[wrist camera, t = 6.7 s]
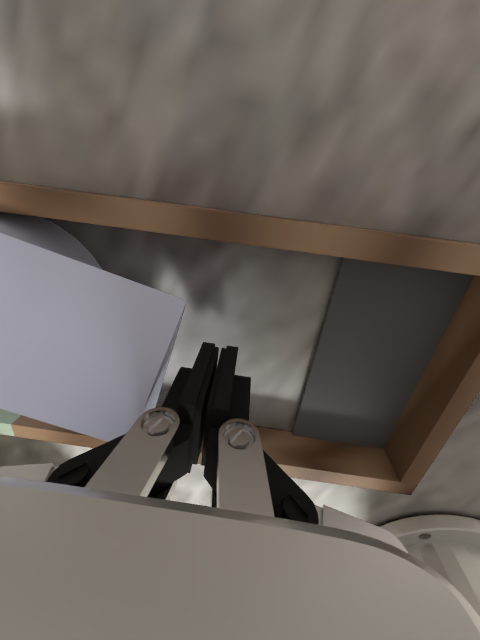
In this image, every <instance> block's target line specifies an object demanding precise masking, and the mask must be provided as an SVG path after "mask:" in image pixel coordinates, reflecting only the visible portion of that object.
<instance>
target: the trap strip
mask: <svg viewBox="0 0 480 640" xmlns="http://www.w3.org/2000/svg"><path fill="white" fill-rule="evenodd" d="M473 276H474V275H470V274H462V273H455V272H447V271H440V270H433V269H425V268H418V267H410V266H403V265H395V264H388V263H380V262H373V261H365V260H358V259H350V258H343V257H342V259H341V262H340V266H339V269H338V273H337V276H336V280H335V283H334V287H333V290H332V294H331V297H330V301H329V304H328V307H327V311H326V314H325V318H324V321H323V325H322V328H321V332H320V335H319V339H318V342H317V346H316V349H315V353H314V356H313V360H312V363H311V367H310V370H309V374H308V377H307V381H306V384H305V388H304V391H303V395H302V398H301V402H300V405H299V409H298V412H297V416H296V419H295V423H294V426H293V430H292V435H293V436H300V437H307V438H314V439H321V440H328V441H335V442H341V443H348V444H355V445H362V446H369V447H376V448H383V449H384V447H385V445H386V443H387V441H388V439H389V437H390V435H391V433H392V431H393V429H394V428H395V426H396V424H397V422H398V420H399V418H400V416H401V414H402V412H403V410H404V408H405V406H406V405H407V403H408V401H409V399H410V397H411V395H412V393H413V391H414V389H415V387H416V385H417V383H418V382H419V380H420V378H421V376H422V374H423V372H424V370H425V368H426V366H427V364H428V362H429V360H430V359H431V357H432V355H433V353H434V351H435V349H436V347H437V345H438V343H439V341H440V339H441V337H442V336H443V334H444V332H445V330H446V328H447V326H448V324H449V322H450V320H451V318H452V316H453V314H454V313H455V311H456V309H457V307H458V305H459V303H460V301H461V299H462V297H463V295H464V293H465V291H466V290H467V288H468V286H469V284H470V282H471V280H472V278H473Z"/></svg>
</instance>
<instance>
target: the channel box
mask: <svg viewBox="0 0 480 640" xmlns="http://www.w3.org/2000/svg"><path fill="white" fill-rule="evenodd" d="M0 212H7V213H15V214H22V215H30V216H37V217H45V218H52V219H59V220H67V221H74V222H82V223H89V224H97V225H104V226H112V227H119V228H127V229H134V230H142V231H149V232H156V233H164V234H171V235H179V236H186V237H194V238H201V239H209V240H216V241H224V242H231V243H239V244H246V245H253V246H261V247H268V248H276V249H283V250H291V251H298V252H306V253H313V254H321V255H328V256H336V257H343V258H350V259H358V260H365V261H373V262H380V263H388V264H395V265H403V266H410V267H418V268H425V269H433V270H440V271H447V272H455V273H462V274H470V275H474V276H473V278H472V280H471V282H470V284H469V286H468V288H467V290H466V291H465V293H464V295H463V297H462V299H461V301H460V303H459V305H458V307H457V309H456V311H455V313H454V314H453V316H452V318H451V320H450V322H449V324H448V326H447V328H446V330H445V332H444V334H443V336H442V337H441V339H440V341H439V343H438V345H437V347H436V349H435V351H434V353H433V355H432V357H431V359H430V360H429V362H428V364H427V366H426V368H425V370H424V372H423V374H422V376H421V378H420V380H419V382H418V383H417V385H416V387H415V389H414V391H413V393H412V395H411V397H410V399H409V401H408V403H407V405H406V406H405V408H404V410H403V412H402V414H401V416H400V418H399V420H398V422H397V424H396V426H395V428H394V429H393V431H392V433H391V435H390V437H389V439H388V441H387V443H386V445H385V447H384V449H383V448H376V447H369V446H362V445H355V444H348V443H341V442H335V441H328V440H321V439H314V438H307V437H300V436H293V435H292V432H291V431H284V430H277V429H270V428H264V427H257V426H255V427H256V428H257V429H258V431H259V434H260V438H261V443H262V449H263V450H264V451H265V452H266V453H267V454H268V455H269V456H270V457H271V458H272V459H273V460H274V462H275V463H276V464H277V465H278V466H279V467H280V468H281V469H282V470H283V471H284V472H285V473H286V474H287V475H288V476H289V477H292V478H298V479H305V480H312V481H318V482H325V483H332V484H339V485H345V486H352V487H359V488H366V489H372V490H379V491H386V492H393V493H399V494H406V495H411V494H412V492H413V491H414V489H415V488H416V486H417V485H418V483H419V482H420V480H421V479H422V477H423V476H424V474H425V473H426V471H427V470H428V468H429V467H430V465H431V464H432V462H433V461H434V459H435V458H436V456H437V455H438V453H439V452H440V450H441V449H442V447H443V446H444V444H445V443H446V441H447V440H448V438H449V437H450V435H451V434H452V432H453V431H454V429H455V428H456V426H457V425H458V423H459V422H460V420H461V419H462V417H463V416H464V414H465V412H466V411H467V409H468V408H469V406H470V405H471V403H472V402H473V400H474V399H475V397H476V396H477V394H478V393H479V391H480V244H476V243H468V242H461V241H453V240H446V239H438V238H430V237H423V236H415V235H408V234H400V233H393V232H385V231H377V230H370V229H362V228H355V227H347V226H340V225H332V224H324V223H317V222H309V221H302V220H294V219H287V218H279V217H271V216H264V215H256V214H249V213H241V212H233V211H226V210H218V209H211V208H203V207H196V206H188V205H180V204H173V203H165V202H158V201H150V200H143V199H135V198H127V197H120V196H112V195H105V194H97V193H90V192H82V191H74V190H67V189H59V188H52V187H44V186H37V185H29V184H21V183H14V182H6V181H0ZM11 427H12V429H13V432H14V435H15V436H16V437H22V438H29V439H36V440H43V441H49V442H56V443H63V444H69V445H76V446H83V447H90V448H96V447H98V446H100V445H102V444H104V443H106V442H107V441H104V440H101V439H97V438H94V437H91V436H88V435H84V434H81V433H78V432H75V431H72V430H68V429H65V428H62V427H59V426H55V425H52V424H49V423H46V422H42V421H39V420H36V419H33V418H29V417H26V416H23V415H21V416H20V417H19V418H17V419H16V420H15V421H14V422H13V423H12V424H11ZM203 439H204V438H203ZM202 449H203V442H202V447H201V451H200V455H199V459H198V463H197V464H201V460H202Z"/></svg>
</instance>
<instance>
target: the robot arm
mask: <svg viewBox="0 0 480 640" xmlns="http://www.w3.org/2000/svg"><path fill="white" fill-rule="evenodd" d="M218 352H219V347H215V344H213V343H206V342H203V344H202V346H201V348H200V351H199V353H198V356H197V358H196V361H195V363H194V366H193V368H192V369H191V368H185V367H181V368H180V370H179V372H178V374H177V376H176V378H175V380H174V382H173V384H172V386H171V388H170V390H169V393H168V395H167V397H166V399H165V401H164V403H163V405H162V407H155V408H152V409H149V410H147V411H146V412H144V413H143V414H142V415H141V416H140V417H139V418H138V419H137V420H136V422H135V423H134V424H133V426H132V427H131V428H130V429H129V431H128V432H127V433H126V434H124V435H122V436H120V437H117V438H115V439H113V440H111V441H109V442H106V443H104V444H102V445H100V446H98V447H96V448H93V449H91V450H89V451H87V452H85V453H83V454H80V455H78V456H76V457H74V458H72V459H70V460H68V461H66V462H64V463H63V464H61V465H60V466H54V463H45V464H30V465H15V466H0V640H480V520H477V519H474V518H470V517H464V516H457V515H440V514H436V515H421V516H415V517H409V518H403V519H400V520H396V521H393V522H389V523H387V524H384V525H382V526H380V527H378V526H375V525H373V524H371V523H368V522H366V521H363V520H361V519H358V518H356V517H353V516H351V515H348V514H346V513H343V512H341V511H338V510H336V509H333V508H331V507H328V506H326V505H323V507H322V508H321V507H319V506H316V505H314V503H313V502H312V501H311V499H310V498H309V497H308V496H307V495H306V493H305V492H304V491H303V490H302V489H301V488H300V487H299V486H298V485H297V484H296V483H295V482H294V481H293V480H292V479H291V478H290V477H289V476H288V475H287V474H286V473H285V472H284V471H283V470H282V469H281V468H280V467H279V466H278V465H277V464H276V463H275V462H274V460H273V459H272V458H271V457H270V456H269V455H268V454H267V453H266V452H265V451H264V450H263V449H262V443H261V438H260V434H259V431H258V429H257V428H256V427H255V425H253V424H252V423H251V422H249V405H250V385H251V377H245V376H238V375H234V373H235V367H236V360H237V353H238V347H233V346H227V348H226V349H225V348H222V350H221V354H220V358H219V361H218ZM217 361H218V365H217ZM203 438H204V439H203ZM202 442H203V449H202V460H201V465H204V466H205V468H204V477H205V479H206V480H207V482H208V483H209V484H210V486H211V487H212V488H211V507H208V506H202V505H195V504H189V503H182V502H176V501H170V498H171V496H172V494H173V492H174V489H175V487H176V484H177V479H179V478H181V477H182V476H184V475H185V474H187V473H190V470H191V466H192V464H197V463H198V459H199V455H200V451H201V447H202Z"/></svg>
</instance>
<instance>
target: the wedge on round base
mask: <svg viewBox="0 0 480 640" xmlns="http://www.w3.org/2000/svg"><path fill="white" fill-rule="evenodd" d="M186 301H187V300H184V299H181V298H178V297H176V296H173V295H170V294H167V293H165V292H162V291H159V290H156V289H154V288H151V287H148V286H145V285H143V284H140V283H137V282H134V281H132V280H129V279H126V278H123V277H121V276H118V275H115V274H112V273H110V272H107V271H104V270H102V268H101V267H100V265H99V264H98V262H97V261H96V260H95V258H94V257H93V256H92V254H91V253H90V252H89V251H88V250H87V249H86V248H85V247H84V246H83V245H82V244H81V243H80V242H79V241H78V240H77V239H76V238H75V237H74V236H72V235H71V234H69V233H68V232H67V231H65V230H64V229H63V228H61V227H59V226H58V225H56V224H54V223H53V222H51V221H49V220H46V219H44V218H42V217H37V216H30V215H22V214H15V213H7V212H0V409H4V410H7V411H10V412H13V413H16V414H20V415H23V416H26V417H29V418H33V419H36V420H39V421H42V422H46V423H49V424H52V425H55V426H59V427H62V428H65V429H68V430H72V431H75V432H78V433H81V434H84V435H88V436H91V437H94V438H97V439H101V440H104V441H107V442H109V441H111V440H113V439H115V438H117V437H120V436H122V435H124V434H126V433H127V432H128V431H129V429H130V428H131V427H132V426H133V424H134V423H135V422H136V420H137V419H138V418H139V417H140V416H141V415H142V414H143V413H144V412H146V411H147V410H149V409H152V408H155V407H156V404H157V401H158V397H159V394H160V390H161V387H162V383H163V380H164V377H165V373H166V370H167V366H168V363H169V359H170V356H171V353H172V349H173V346H174V342H175V339H176V336H177V332H178V329H179V325H180V322H181V318H182V315H183V312H184V308H185V305H186Z"/></svg>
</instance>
